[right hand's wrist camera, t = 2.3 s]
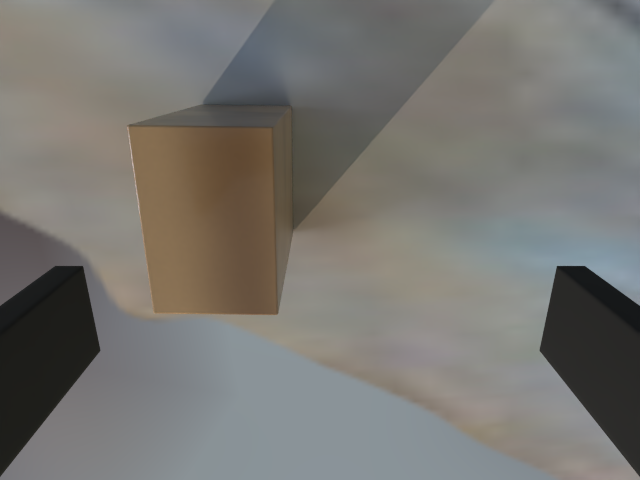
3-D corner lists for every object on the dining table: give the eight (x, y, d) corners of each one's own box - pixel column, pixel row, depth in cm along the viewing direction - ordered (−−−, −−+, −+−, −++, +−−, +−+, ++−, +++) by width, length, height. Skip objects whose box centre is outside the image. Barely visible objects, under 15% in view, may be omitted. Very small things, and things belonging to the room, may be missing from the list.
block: (210, 231, 30) (152, 314, 20) (199, 104, 27) (126, 125, 17) (293, 232, 30) (278, 315, 20) (291, 105, 27) (273, 126, 17)
